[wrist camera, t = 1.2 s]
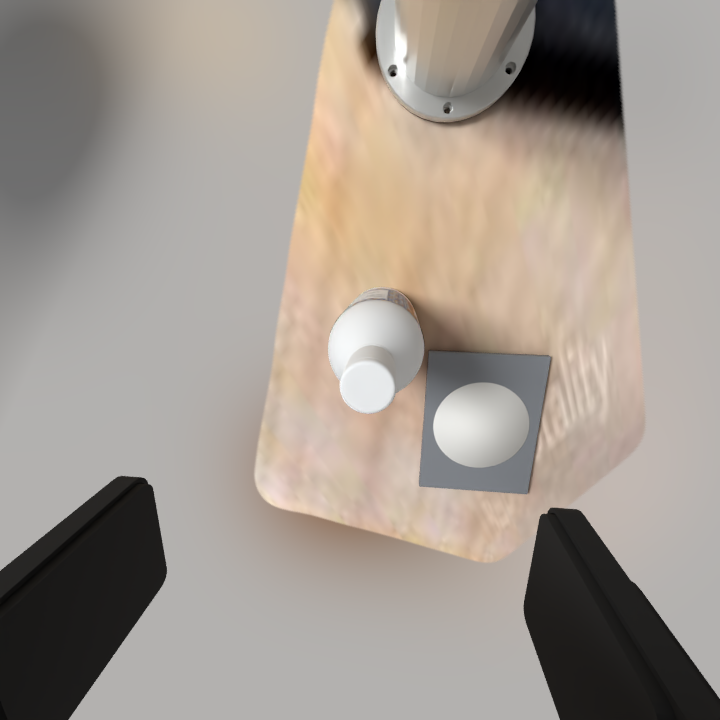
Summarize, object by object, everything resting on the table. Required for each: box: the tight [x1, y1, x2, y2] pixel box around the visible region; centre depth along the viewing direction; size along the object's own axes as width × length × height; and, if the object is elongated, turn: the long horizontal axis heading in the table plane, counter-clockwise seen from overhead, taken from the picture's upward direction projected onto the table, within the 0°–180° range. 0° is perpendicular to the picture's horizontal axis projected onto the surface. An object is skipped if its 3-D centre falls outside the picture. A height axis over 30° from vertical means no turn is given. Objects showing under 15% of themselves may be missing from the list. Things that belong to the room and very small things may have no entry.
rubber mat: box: [419, 351, 551, 494], centre depth 39 cm, size 16×12×1 cm
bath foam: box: [328, 287, 424, 414], centre depth 28 cm, size 7×7×20 cm
